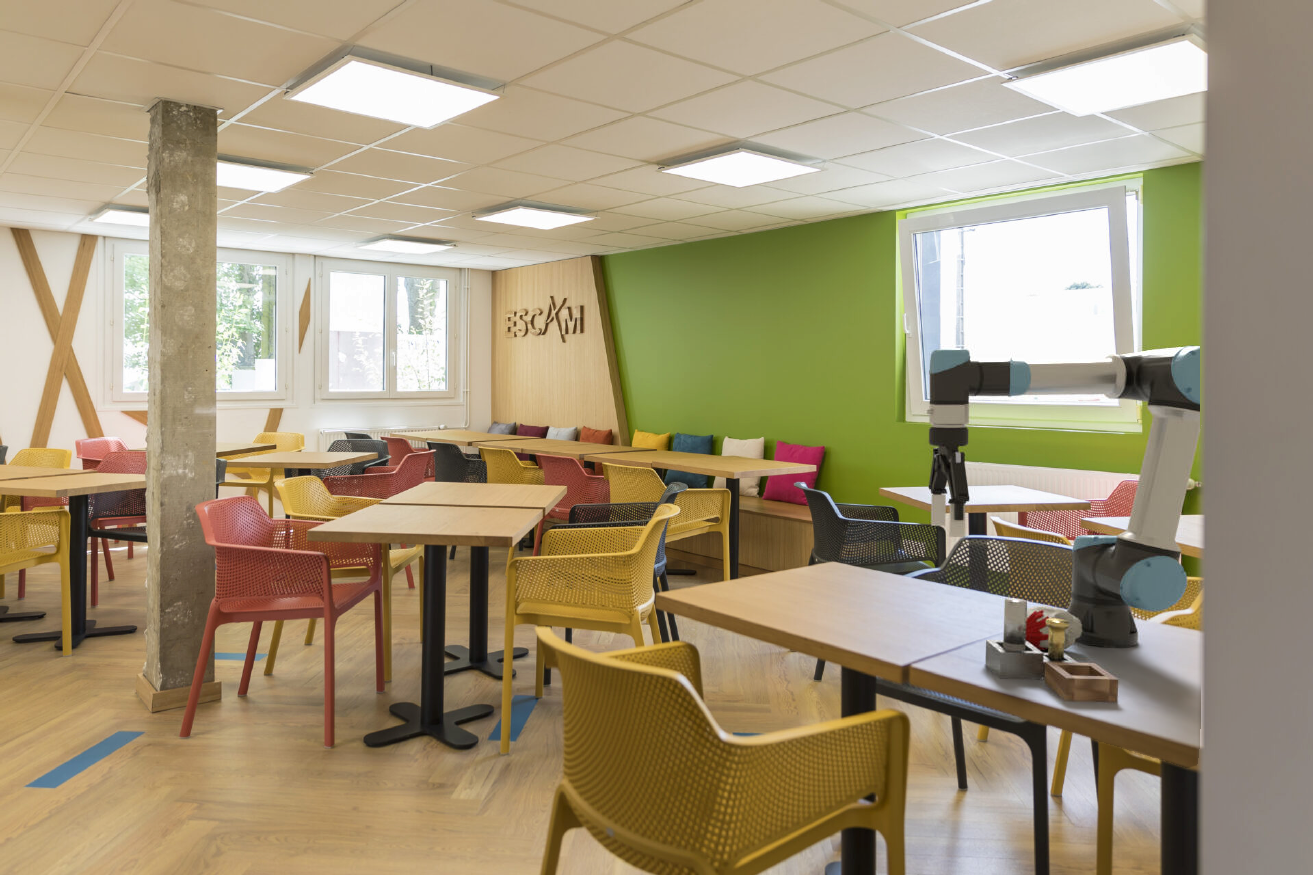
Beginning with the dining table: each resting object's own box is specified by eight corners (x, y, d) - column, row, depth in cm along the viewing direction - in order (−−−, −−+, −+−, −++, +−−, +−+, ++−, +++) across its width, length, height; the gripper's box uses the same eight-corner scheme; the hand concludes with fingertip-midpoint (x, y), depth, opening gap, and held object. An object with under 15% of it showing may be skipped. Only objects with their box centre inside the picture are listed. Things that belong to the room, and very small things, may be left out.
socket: (1061, 666, 169) (1063, 641, 169) (1080, 680, 161) (1081, 654, 161) (985, 664, 170) (986, 639, 169) (999, 678, 162) (1000, 652, 161)
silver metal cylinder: (1019, 668, 167) (1022, 598, 167) (1027, 675, 163) (1030, 603, 163) (999, 668, 167) (1001, 598, 167) (1006, 675, 163) (1009, 603, 163)
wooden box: (1093, 684, 159) (1094, 663, 159) (1117, 701, 150) (1118, 679, 150) (1044, 682, 159) (1045, 661, 159) (1065, 700, 150) (1066, 677, 150)
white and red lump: (1085, 648, 180) (1037, 666, 173) (1039, 634, 190) (992, 650, 183) (1084, 607, 178) (1035, 624, 172) (1038, 595, 188) (990, 610, 182)
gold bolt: (1061, 653, 167) (1063, 618, 166) (1070, 660, 163) (1072, 624, 162) (1041, 653, 167) (1042, 618, 167) (1049, 659, 163) (1051, 623, 163)
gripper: (914, 423, 184) (913, 521, 185) (946, 429, 159) (945, 541, 160) (950, 423, 183) (948, 521, 184) (987, 428, 158) (986, 541, 160)
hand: (947, 530), depth 172 cm, fingers open, 13 cm apart
